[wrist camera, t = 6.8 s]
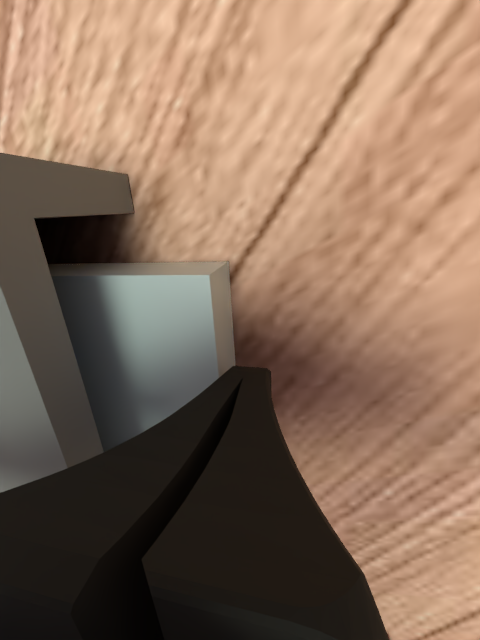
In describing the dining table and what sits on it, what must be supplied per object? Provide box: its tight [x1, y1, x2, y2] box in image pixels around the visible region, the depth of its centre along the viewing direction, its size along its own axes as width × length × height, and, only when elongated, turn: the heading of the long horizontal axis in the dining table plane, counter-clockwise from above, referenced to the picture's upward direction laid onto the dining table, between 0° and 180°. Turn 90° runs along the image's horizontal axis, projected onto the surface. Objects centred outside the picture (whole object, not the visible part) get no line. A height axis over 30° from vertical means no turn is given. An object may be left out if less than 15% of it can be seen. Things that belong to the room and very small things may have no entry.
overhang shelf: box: [0, 153, 134, 493], centre depth 11 cm, size 14×10×5 cm, turn 3°
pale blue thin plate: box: [48, 261, 236, 452], centre depth 11 cm, size 8×9×2 cm
